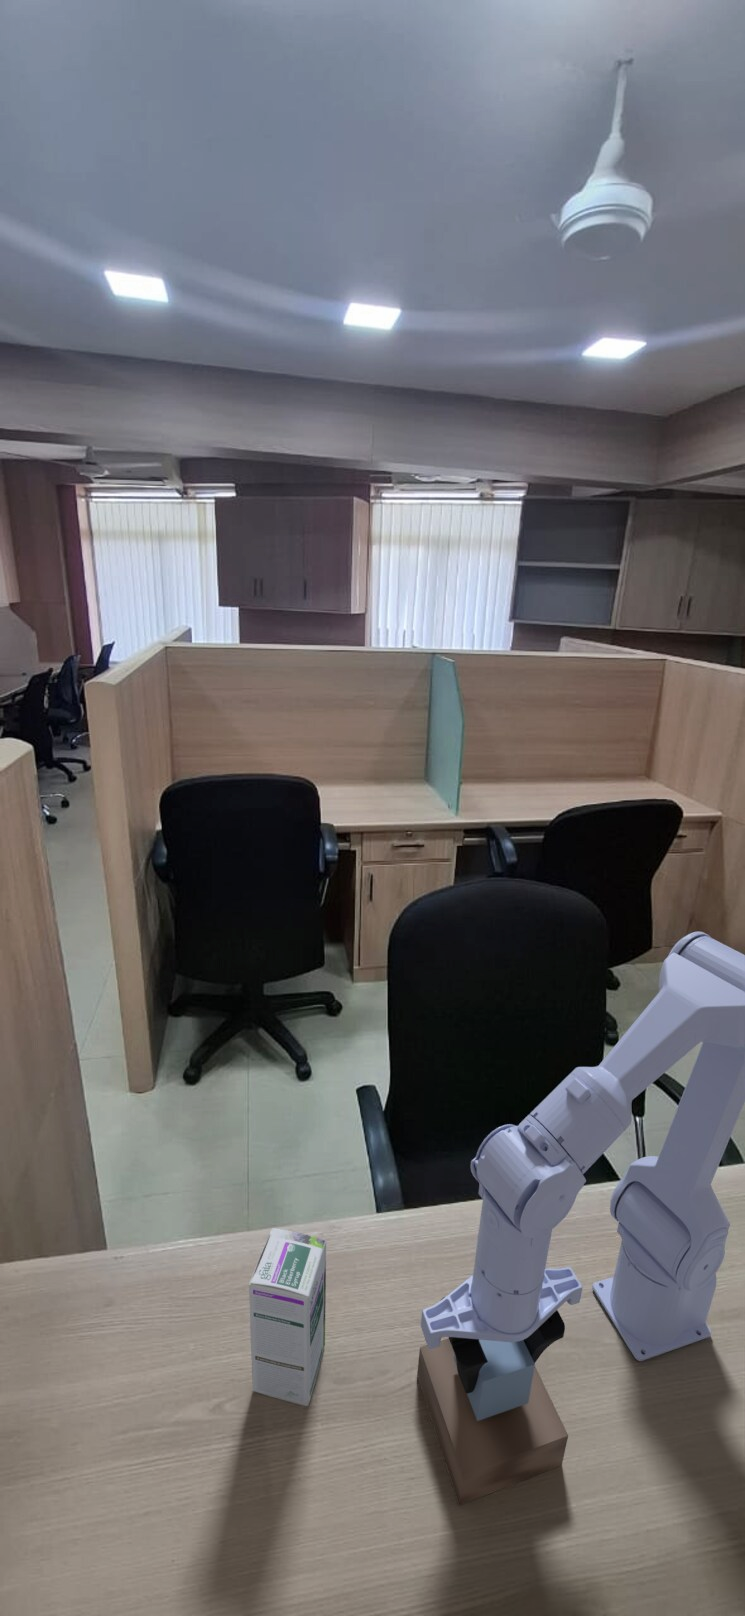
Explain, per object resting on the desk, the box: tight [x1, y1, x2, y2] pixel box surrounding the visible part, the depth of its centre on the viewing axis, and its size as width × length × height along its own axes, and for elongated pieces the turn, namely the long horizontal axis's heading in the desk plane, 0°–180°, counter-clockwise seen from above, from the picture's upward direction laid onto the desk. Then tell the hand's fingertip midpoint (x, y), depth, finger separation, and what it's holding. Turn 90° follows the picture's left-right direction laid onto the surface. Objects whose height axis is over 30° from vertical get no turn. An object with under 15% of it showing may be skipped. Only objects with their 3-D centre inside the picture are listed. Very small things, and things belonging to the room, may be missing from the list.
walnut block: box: [416, 1337, 569, 1506], centre depth 60 cm, size 10×10×4 cm
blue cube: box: [454, 1339, 536, 1421], centre depth 59 cm, size 5×5×5 cm
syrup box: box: [248, 1227, 327, 1407], centre depth 62 cm, size 6×6×14 cm
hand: (493, 1371), depth 59 cm, fingers closed on blue cube, 5 cm apart
